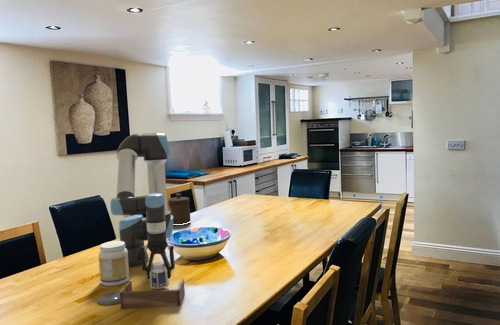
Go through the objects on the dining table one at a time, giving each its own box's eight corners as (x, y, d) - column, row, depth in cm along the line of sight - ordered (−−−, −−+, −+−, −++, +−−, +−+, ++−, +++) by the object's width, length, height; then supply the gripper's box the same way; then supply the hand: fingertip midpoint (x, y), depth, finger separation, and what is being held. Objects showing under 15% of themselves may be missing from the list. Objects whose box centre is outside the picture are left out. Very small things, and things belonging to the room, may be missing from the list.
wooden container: (173, 221, 290) (171, 191, 289) (193, 221, 288) (191, 191, 286) (166, 226, 276) (164, 195, 274) (187, 226, 274) (185, 194, 272)
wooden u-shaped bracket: (130, 295, 159) (129, 280, 159) (184, 292, 160) (183, 278, 159) (120, 308, 147) (119, 293, 147) (180, 306, 148) (179, 290, 147)
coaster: (103, 294, 162) (103, 292, 162) (130, 292, 162) (130, 291, 162) (93, 305, 151) (93, 304, 151) (122, 304, 151) (122, 303, 151)
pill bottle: (168, 283, 168) (166, 260, 167) (165, 288, 162) (164, 265, 161) (154, 284, 168) (153, 261, 167) (151, 289, 162) (150, 266, 161)
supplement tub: (107, 276, 181) (104, 240, 180) (133, 276, 181) (131, 239, 180) (95, 287, 169) (93, 248, 168) (124, 286, 169) (121, 247, 167)
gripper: (131, 234, 159) (134, 290, 161) (178, 232, 159) (180, 288, 161) (136, 230, 166) (139, 283, 168) (180, 228, 166) (183, 281, 168)
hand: (159, 286), depth 165 cm, fingers closed on pill bottle, 6 cm apart
